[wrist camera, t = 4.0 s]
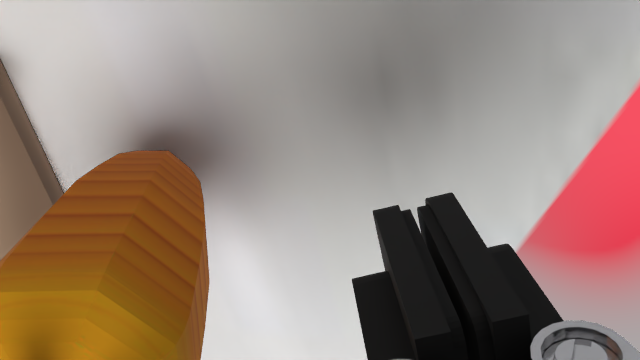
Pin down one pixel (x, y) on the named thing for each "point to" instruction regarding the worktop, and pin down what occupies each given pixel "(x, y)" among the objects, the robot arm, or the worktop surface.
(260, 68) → the worktop surface
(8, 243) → the walnut U-rest
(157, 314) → the carrot
